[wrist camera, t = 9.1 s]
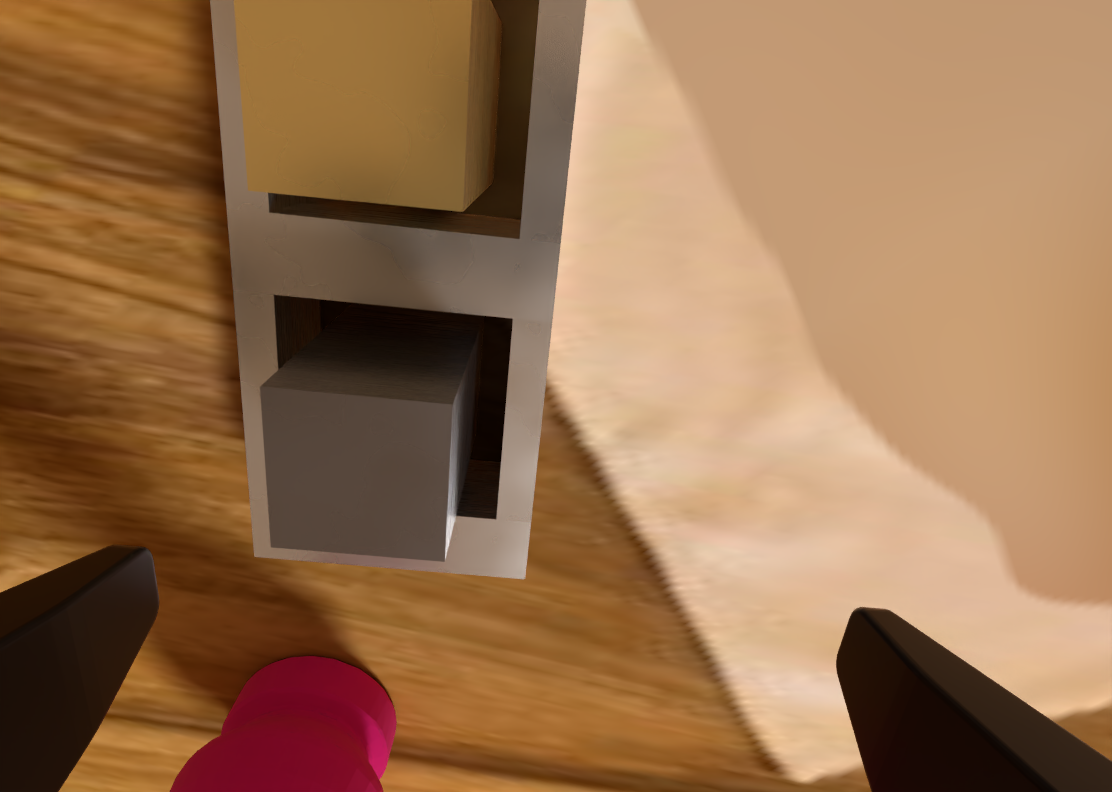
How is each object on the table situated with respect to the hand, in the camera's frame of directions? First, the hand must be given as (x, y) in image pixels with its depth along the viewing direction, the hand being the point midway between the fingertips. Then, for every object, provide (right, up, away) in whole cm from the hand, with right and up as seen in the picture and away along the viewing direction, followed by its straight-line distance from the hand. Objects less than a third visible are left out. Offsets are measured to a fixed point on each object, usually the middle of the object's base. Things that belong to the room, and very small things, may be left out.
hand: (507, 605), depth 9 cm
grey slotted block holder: (-3, +7, +11) cm, 14 cm away
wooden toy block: (-3, +11, +10) cm, 15 cm away
